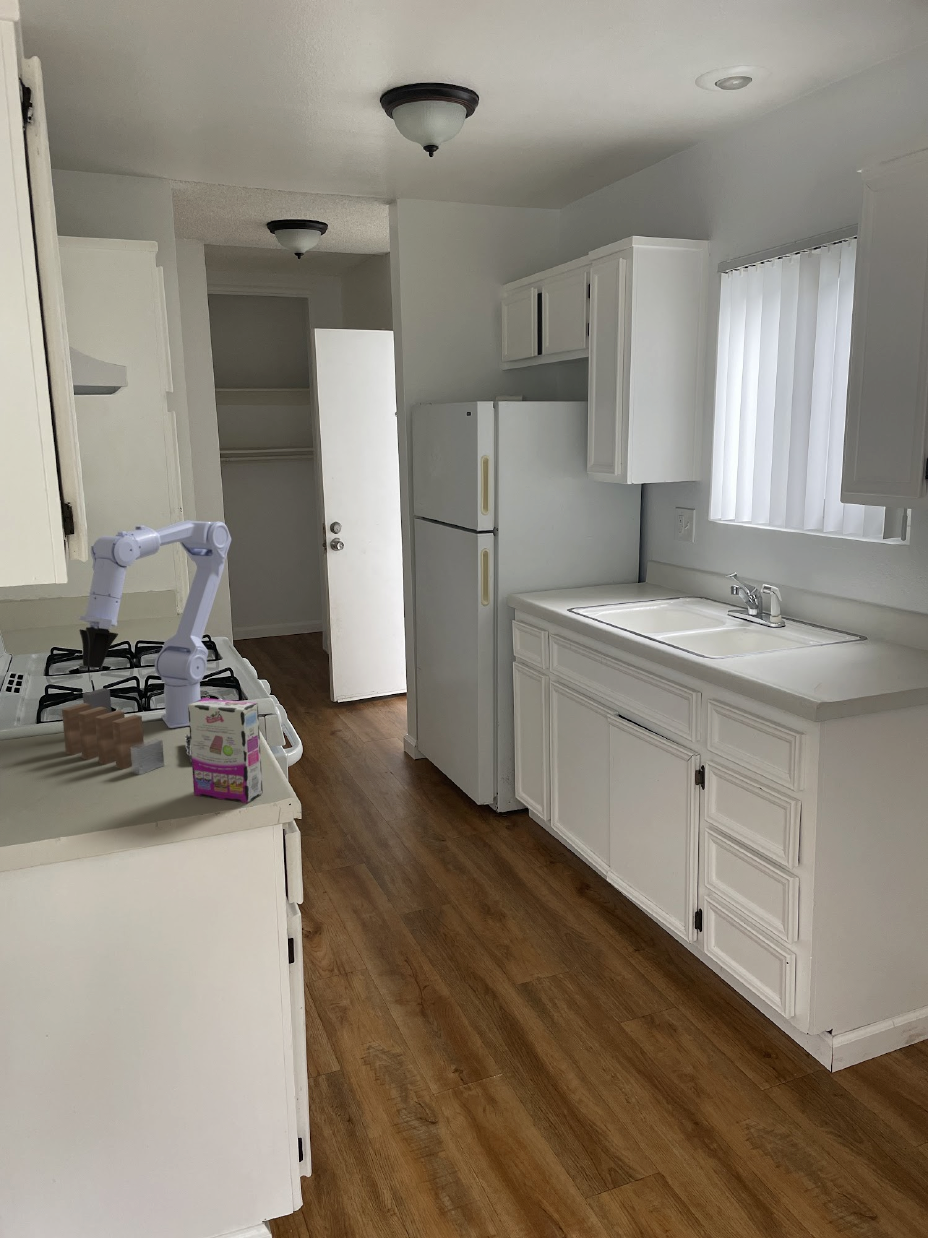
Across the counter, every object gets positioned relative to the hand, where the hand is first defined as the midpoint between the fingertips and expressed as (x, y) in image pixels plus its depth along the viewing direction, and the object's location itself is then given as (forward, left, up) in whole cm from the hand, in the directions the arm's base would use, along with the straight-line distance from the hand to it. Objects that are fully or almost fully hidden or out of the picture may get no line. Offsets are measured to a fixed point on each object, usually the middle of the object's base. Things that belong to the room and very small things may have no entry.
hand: (91, 667), depth 177 cm
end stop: (+13, +7, -18) cm, 23 cm away
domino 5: (+9, +5, -18) cm, 20 cm away
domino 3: (0, 0, -18) cm, 18 cm away
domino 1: (-4, -3, -18) cm, 18 cm away
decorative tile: (+9, +19, -18) cm, 28 cm away
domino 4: (+4, +2, -18) cm, 18 cm away
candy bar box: (+32, +17, -18) cm, 41 cm away
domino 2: (-14, +2, -18) cm, 23 cm away
